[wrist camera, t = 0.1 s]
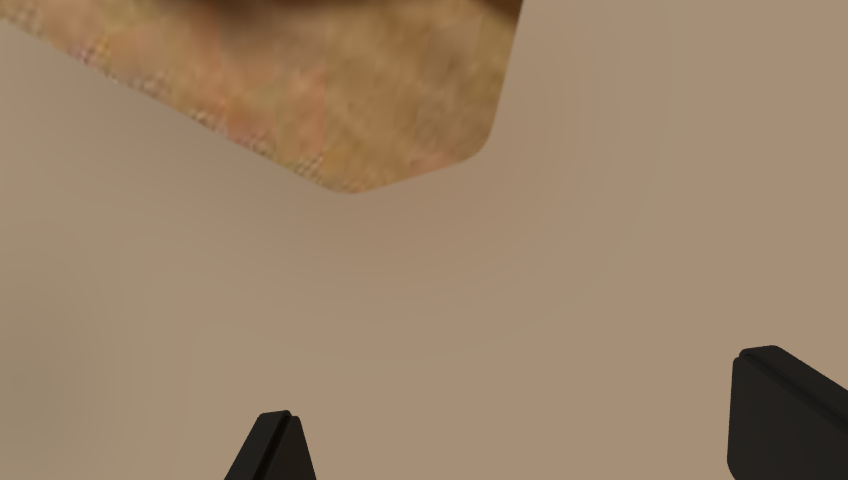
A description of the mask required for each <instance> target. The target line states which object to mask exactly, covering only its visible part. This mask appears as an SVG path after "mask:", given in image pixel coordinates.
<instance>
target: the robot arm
mask: <svg viewBox="0 0 848 480" xmlns="http://www.w3.org/2000/svg"><path fill="white" fill-rule="evenodd" d="M727 463H728V467H729V469H730V472H731V474H732V475H733V477H734V478H735V480H848V390H846V389H844V388H843V387H841V386H840V385H838V384H837V383H835V382H834V381H832V380H830V379H829V378H827V377H826V376H824V375H822V374H821V373H819V372H818V371H816V370H815V369H813V368H812V367H810V366H808V365H807V364H805V363H803V362H802V361H801V360H799V359H797V358H796V357H794V356H793V355H791V354H789V353H788V352H786V351H785V350H783V349H782V348H780V347H778V346H773V345H770V346H762V347H755V348H747V349H744V350H742V351H741V352H740V354H739V357H737V358H735V359H734V361H733V371H732V387H731V403H730V420H729V435H728V452H727ZM224 480H316V476H315V472H314V469H313V465H312V462H311V458H310V454H309V451H308V447H307V443H306V440H305V436H304V432H303V429H302V425H301V421H300V419H299V417H297V416H292V415H291V413H290V412H289V411H288V410H284V411H276V412H269V413H262V414H260V416H259V417H258V418H257V420H256V422H255V424H254V426H253V428H252V429H251V431H250V433H249V435H248V437H247V439H246V440H245V442H244V444H243V446H242V448H241V450H240V452H239V453H238V455H237V457H236V459H235V461H234V463H233V465H232V466H231V468H230V470H229V472H228V474H227V475H226V477H225V479H224Z"/></svg>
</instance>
